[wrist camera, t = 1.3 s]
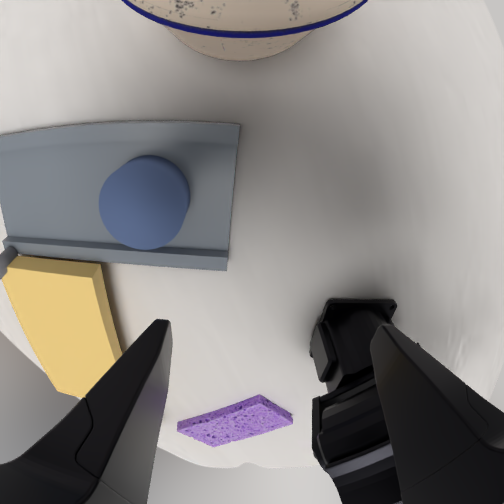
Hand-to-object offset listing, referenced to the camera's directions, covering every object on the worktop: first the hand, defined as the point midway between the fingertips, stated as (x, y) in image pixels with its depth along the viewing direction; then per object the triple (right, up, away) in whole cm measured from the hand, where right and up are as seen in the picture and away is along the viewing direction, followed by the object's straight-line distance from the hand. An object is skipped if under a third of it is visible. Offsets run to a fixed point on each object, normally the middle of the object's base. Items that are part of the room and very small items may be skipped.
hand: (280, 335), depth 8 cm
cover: (-16, -5, +13) cm, 21 cm away
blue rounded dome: (-7, +6, +8) cm, 12 cm away
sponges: (-3, -18, +24) cm, 30 cm away
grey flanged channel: (-11, +6, +8) cm, 15 cm away
